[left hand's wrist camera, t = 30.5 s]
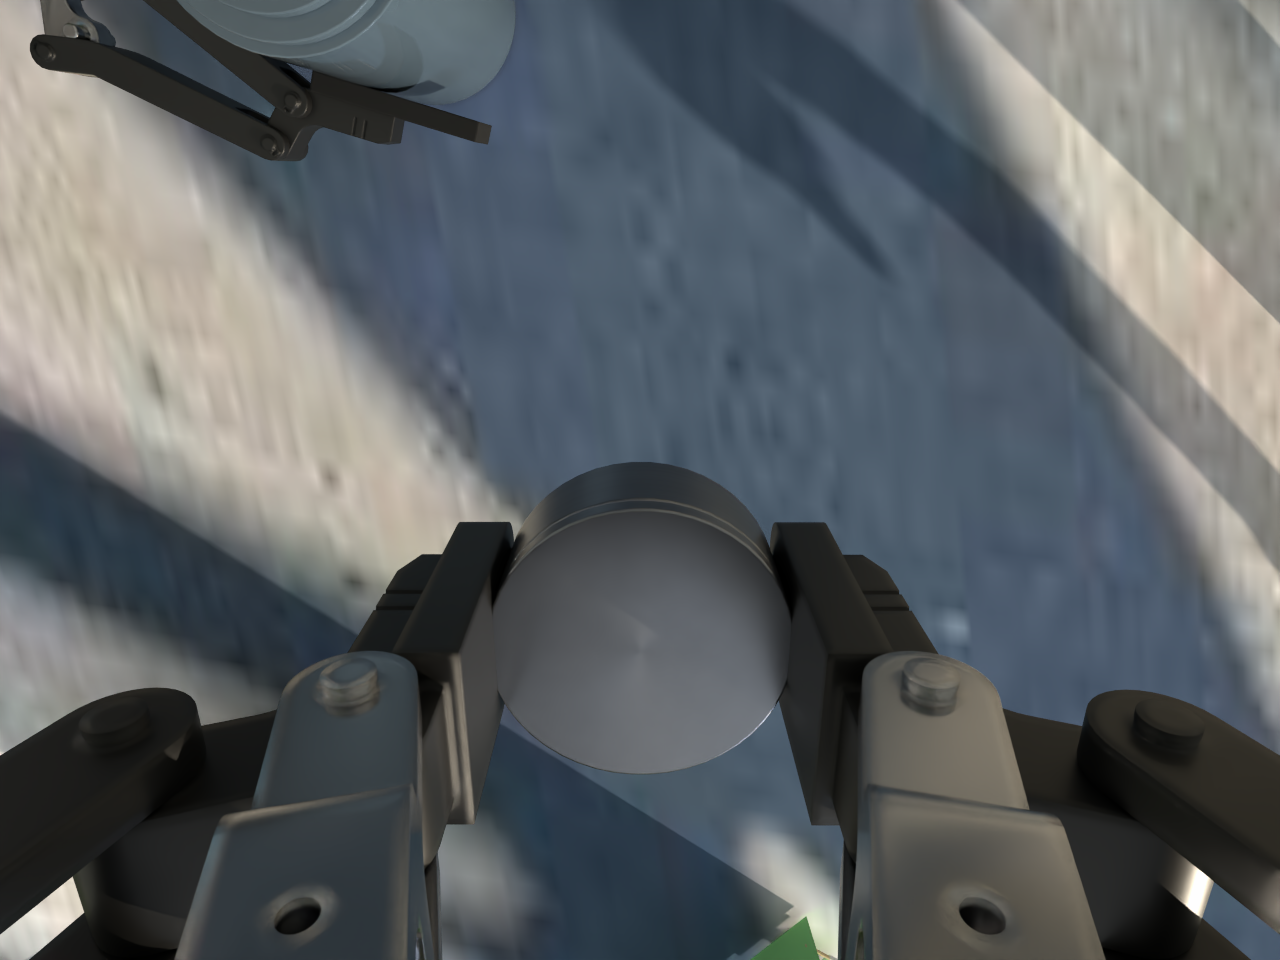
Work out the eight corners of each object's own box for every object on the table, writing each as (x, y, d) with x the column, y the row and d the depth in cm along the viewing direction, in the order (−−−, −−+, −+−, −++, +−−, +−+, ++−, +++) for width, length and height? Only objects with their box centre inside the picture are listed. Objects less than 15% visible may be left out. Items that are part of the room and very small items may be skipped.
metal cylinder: (453, 597, 12) (424, 663, 10) (628, 404, 11) (625, 444, 9) (651, 740, 13) (653, 822, 11) (829, 575, 12) (859, 638, 10)
